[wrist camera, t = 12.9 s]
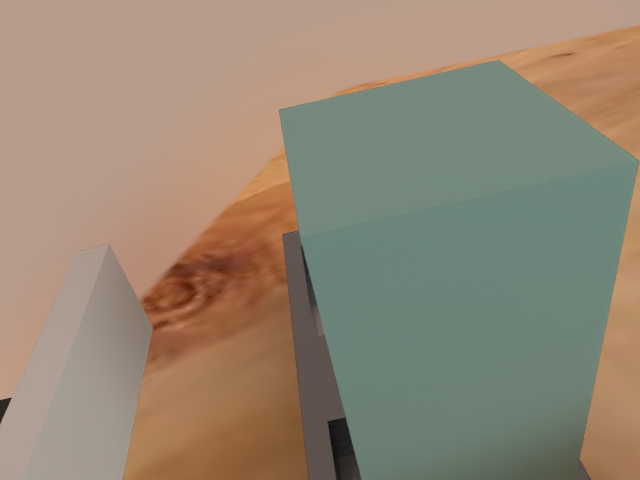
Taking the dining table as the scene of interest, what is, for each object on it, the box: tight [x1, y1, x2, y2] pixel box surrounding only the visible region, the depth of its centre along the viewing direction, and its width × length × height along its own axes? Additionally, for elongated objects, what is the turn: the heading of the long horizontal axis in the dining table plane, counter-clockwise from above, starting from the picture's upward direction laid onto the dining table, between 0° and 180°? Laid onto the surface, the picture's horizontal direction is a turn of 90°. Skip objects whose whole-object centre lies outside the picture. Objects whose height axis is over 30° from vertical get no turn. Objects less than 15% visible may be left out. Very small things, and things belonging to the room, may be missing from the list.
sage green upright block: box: [279, 60, 639, 480], centre depth 11 cm, size 4×4×12 cm
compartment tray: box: [282, 231, 591, 480], centre depth 18 cm, size 17×7×3 cm, turn 7°
